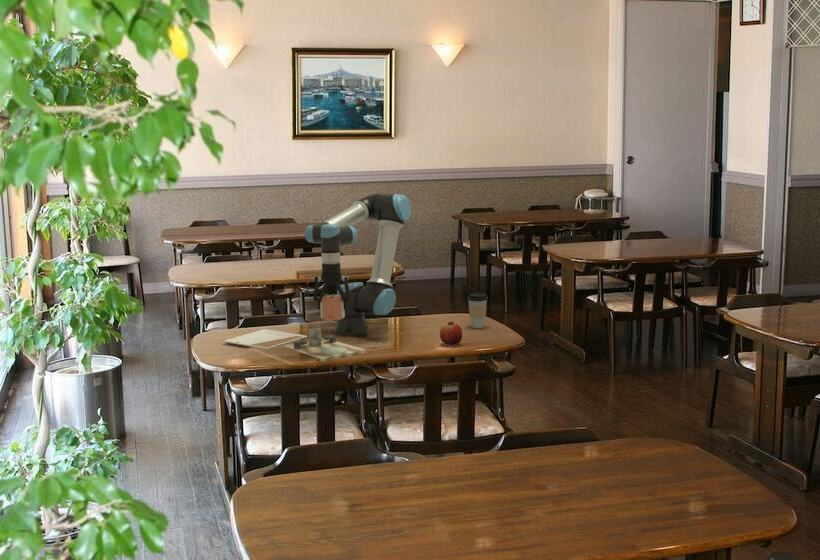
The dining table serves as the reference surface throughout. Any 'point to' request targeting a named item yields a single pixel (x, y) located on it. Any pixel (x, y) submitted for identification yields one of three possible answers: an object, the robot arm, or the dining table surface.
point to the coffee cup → (477, 309)
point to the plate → (262, 338)
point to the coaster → (333, 350)
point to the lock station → (322, 346)
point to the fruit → (451, 333)
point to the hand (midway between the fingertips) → (332, 317)
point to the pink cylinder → (331, 307)
